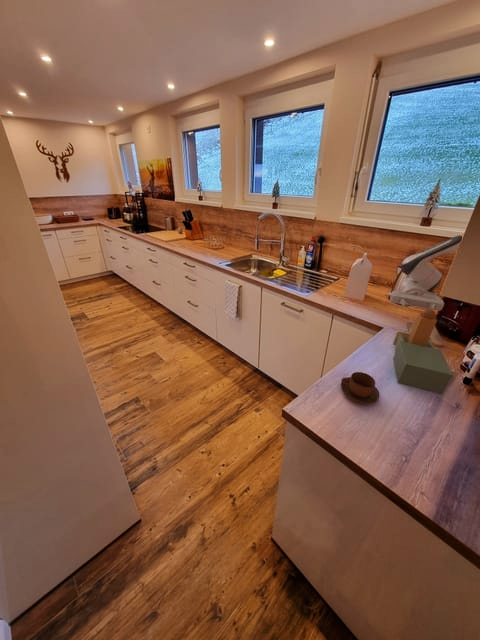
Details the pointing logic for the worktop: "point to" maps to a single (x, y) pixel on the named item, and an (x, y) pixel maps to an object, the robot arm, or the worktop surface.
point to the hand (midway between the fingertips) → (418, 307)
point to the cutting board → (434, 336)
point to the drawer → (406, 339)
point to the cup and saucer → (360, 388)
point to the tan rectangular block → (422, 327)
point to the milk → (358, 279)
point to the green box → (421, 367)
